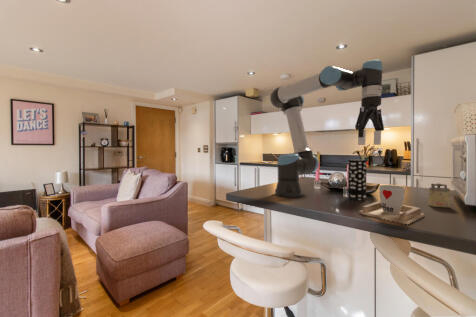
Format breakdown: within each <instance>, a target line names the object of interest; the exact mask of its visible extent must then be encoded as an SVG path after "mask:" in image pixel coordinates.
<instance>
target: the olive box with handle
mask: <svg viewBox="0 0 476 317" xmlns="http://www.w3.org/2000/svg"><path fill="white" fill-rule="evenodd" d="M436 186H437V187H436ZM447 186H448V184H445V183H444V184H443V183H440V182H439V183H438V182H437V183H431V184H430V187H429V188H428V206H430V207H436V208H450V207H451V203H450V202H451V188H448V187H447Z"/></svg>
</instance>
